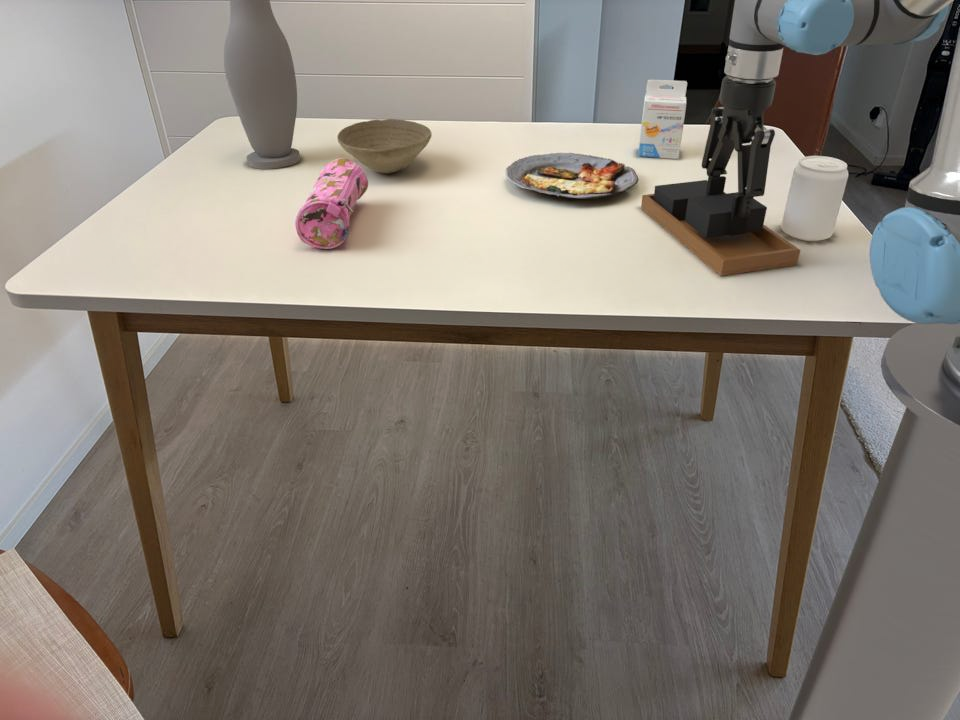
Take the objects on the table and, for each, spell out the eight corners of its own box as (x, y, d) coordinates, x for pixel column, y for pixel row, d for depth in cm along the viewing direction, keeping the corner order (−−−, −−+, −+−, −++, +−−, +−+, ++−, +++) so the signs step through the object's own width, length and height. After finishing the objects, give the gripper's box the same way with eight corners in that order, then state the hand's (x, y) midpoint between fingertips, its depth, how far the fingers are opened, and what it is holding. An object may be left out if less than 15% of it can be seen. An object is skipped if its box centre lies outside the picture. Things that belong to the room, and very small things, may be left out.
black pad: (762, 230, 121) (767, 207, 118) (706, 238, 118) (710, 214, 116) (738, 214, 126) (743, 191, 124) (684, 220, 124) (688, 197, 122)
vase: (247, 175, 152) (211, -17, 133) (237, 156, 162) (203, -25, 143) (312, 166, 156) (286, -22, 137) (298, 148, 166) (273, -29, 147)
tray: (797, 265, 116) (800, 249, 114) (720, 276, 113) (723, 260, 112) (706, 200, 138) (708, 187, 137) (640, 208, 135) (642, 194, 134)
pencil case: (354, 252, 122) (348, 200, 117) (296, 252, 122) (288, 200, 117) (371, 202, 139) (367, 155, 134) (322, 202, 140) (315, 155, 135)
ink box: (637, 157, 159) (645, 84, 151) (638, 149, 163) (646, 79, 155) (679, 159, 157) (689, 86, 149) (678, 152, 161) (688, 80, 153)
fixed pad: (723, 215, 131) (726, 193, 129) (670, 222, 129) (673, 199, 126) (702, 201, 136) (706, 179, 134) (652, 207, 134) (654, 185, 132)
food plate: (651, 175, 150) (653, 157, 148) (613, 216, 133) (615, 197, 131) (536, 157, 159) (536, 140, 157) (486, 193, 142) (486, 175, 140)
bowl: (415, 190, 144) (412, 149, 140) (326, 182, 148) (321, 142, 144) (444, 159, 159) (442, 121, 154) (363, 153, 163) (359, 116, 159)
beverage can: (774, 223, 129) (789, 154, 122) (822, 223, 129) (840, 154, 122) (788, 243, 122) (805, 171, 116) (839, 243, 122) (858, 171, 115)
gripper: (692, 64, 117) (673, 204, 129) (765, 96, 101) (735, 253, 113) (736, 60, 118) (712, 199, 131) (814, 92, 102) (779, 246, 115)
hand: (723, 224), depth 122 cm, fingers closed on black pad, 7 cm apart
